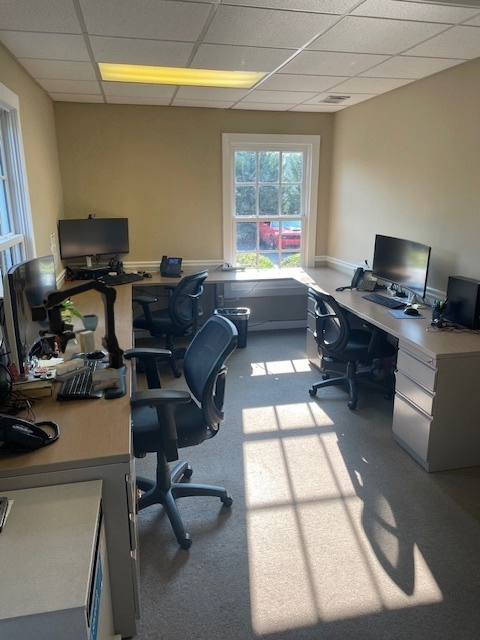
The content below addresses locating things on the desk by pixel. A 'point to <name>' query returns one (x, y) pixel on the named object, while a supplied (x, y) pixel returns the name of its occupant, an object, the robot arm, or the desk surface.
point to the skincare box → (87, 342)
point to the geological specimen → (105, 379)
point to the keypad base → (72, 373)
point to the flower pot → (90, 321)
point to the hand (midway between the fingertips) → (58, 352)
